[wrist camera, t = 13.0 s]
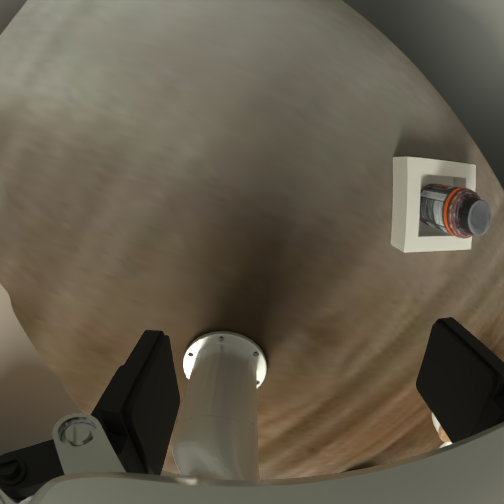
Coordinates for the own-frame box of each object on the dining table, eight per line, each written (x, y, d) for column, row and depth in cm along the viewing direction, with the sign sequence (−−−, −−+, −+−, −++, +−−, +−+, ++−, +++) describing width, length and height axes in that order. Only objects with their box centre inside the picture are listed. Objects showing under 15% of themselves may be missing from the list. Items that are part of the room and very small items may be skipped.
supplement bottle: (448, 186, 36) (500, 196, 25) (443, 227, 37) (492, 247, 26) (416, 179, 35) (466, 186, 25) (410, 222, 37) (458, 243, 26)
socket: (454, 242, 39) (470, 249, 35) (390, 244, 39) (403, 252, 35) (458, 164, 36) (475, 164, 32) (392, 157, 36) (407, 156, 32)
